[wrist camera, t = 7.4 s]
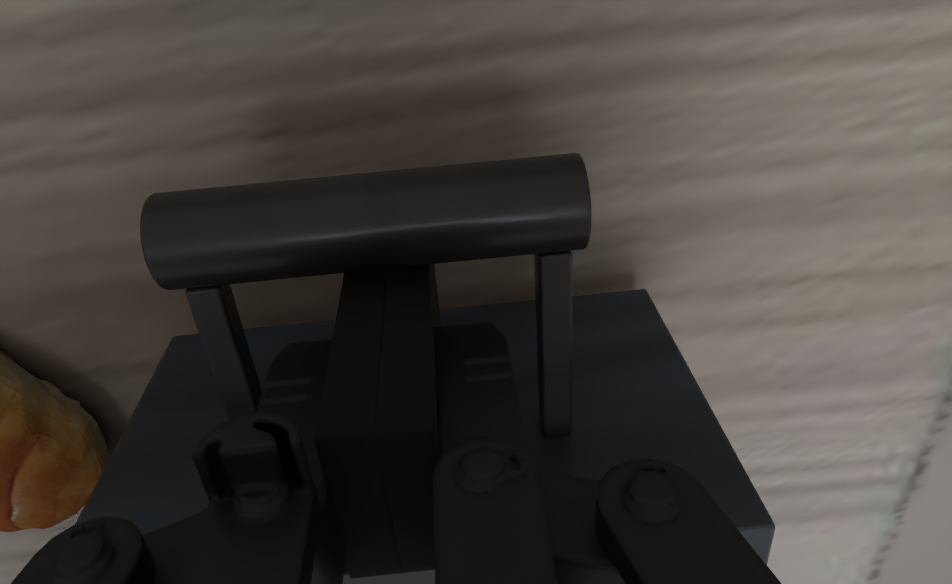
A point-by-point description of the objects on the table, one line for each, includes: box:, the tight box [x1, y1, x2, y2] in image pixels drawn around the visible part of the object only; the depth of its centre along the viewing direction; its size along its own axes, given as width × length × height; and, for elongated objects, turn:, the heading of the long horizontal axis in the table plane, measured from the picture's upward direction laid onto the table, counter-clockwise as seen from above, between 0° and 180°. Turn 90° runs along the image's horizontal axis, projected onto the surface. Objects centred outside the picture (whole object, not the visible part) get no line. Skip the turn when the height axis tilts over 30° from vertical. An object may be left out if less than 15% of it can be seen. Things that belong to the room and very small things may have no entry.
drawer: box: [75, 153, 775, 584], centre depth 18 cm, size 22×13×8 cm, turn 4°
